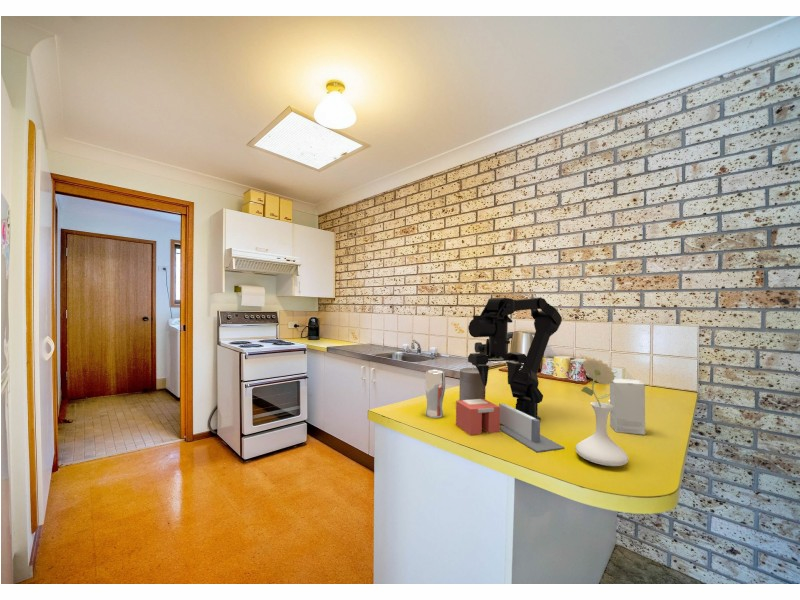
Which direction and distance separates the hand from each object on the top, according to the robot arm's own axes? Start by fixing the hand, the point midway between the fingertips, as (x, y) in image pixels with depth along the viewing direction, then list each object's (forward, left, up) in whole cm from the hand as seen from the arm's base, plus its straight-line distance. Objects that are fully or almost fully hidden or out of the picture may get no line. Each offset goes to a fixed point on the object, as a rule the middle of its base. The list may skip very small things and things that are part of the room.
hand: (497, 385), depth 108 cm
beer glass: (+16, -13, -13) cm, 24 cm away
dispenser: (+8, +1, -12) cm, 15 cm away
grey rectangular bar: (-2, +8, -12) cm, 15 cm away
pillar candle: (-2, -19, -13) cm, 23 cm away
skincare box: (-37, +15, -13) cm, 42 cm away
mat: (-3, +12, -12) cm, 18 cm away
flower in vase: (-11, +28, -13) cm, 33 cm away
